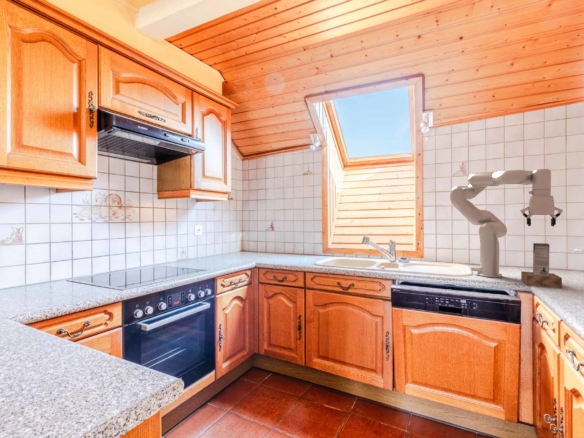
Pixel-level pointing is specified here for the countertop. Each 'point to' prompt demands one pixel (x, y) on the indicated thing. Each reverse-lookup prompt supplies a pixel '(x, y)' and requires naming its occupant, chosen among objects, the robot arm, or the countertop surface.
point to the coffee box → (541, 259)
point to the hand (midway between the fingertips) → (540, 226)
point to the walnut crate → (541, 280)
